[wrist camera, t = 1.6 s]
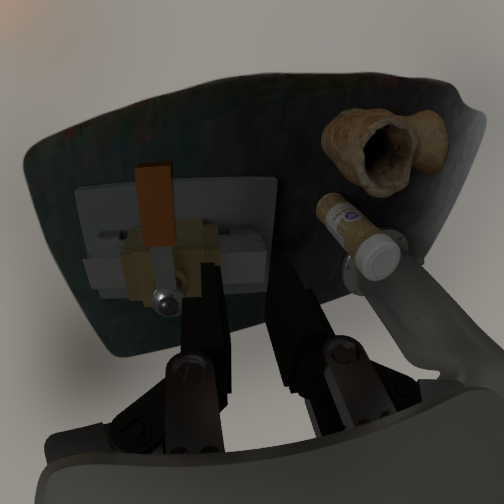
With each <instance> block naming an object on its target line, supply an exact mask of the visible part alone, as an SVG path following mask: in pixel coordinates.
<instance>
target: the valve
mask: <svg viewBox="0 0 504 504" xmlns="http://www.w3.org/2000/svg"><path fill="white" fill-rule="evenodd" d="M176 231H177V241H176V246H173V254H174V263H175V272H176V280H177V285H179V286H181V287H182V288H183V289H184V291H185V293H186V297H202V295H201V263H207V262H215V266H220V267H221V274H222V282H223V284H240V283H257V282H264V278H265V267H266V256H267V250H266V248H265V245H264V243H263V241H262V238H261V236H260V234H255V233H256V229H255V227H254V224H249V225H228V235H218V228H217V224H203V218H198V219H176ZM96 239H97V241H93V243H92V244H91V246H90V248H89V249H88V251H87V253H86V255H85V256H84V258H83V262H84V266H85V269H86V272H87V276H88V279H89V282H90V285H91V288H92V289H114V288H127V290H128V293H129V297H130V301H143V304H144V307H152V297H153V291H154V289H155V288H156V283H155V277H154V272H153V266H152V259H151V253H150V247H144V244H143V238H142V231H141V227H133V228H131V229H130V231H129V233H128V236H127V238H126V239H125V240H123V234H122V230H116V231H101V232H99V234H98V235H97V237H96Z"/></svg>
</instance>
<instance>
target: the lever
mask: <svg viewBox="0 0 504 504" xmlns="http://www.w3.org/2000/svg"><path fill="white" fill-rule="evenodd" d="M135 179H136V189H137V199H138V208H139V216H140V223H141V231H142V238H143V244H144V247H150V253H151V259H152V266H153V272H154V277H155V283H156V288H155V289H154V291H153V297H152V307H153V309H154V310H155V311H156V312H157V313H158V314H160V315H162V316H165V317H175V316H178V315H180V314H181V312H182V298H184V297H186V293H185V291H184V289H183V288H182V287H181V286H179V285H177V280H176V272H175V263H174V254H173V246H176V241H177V231H176V219H175V204H174V187H173V164H172V161H168V162H153V163H140V164H138V165H137V166H136V167H135Z"/></svg>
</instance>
